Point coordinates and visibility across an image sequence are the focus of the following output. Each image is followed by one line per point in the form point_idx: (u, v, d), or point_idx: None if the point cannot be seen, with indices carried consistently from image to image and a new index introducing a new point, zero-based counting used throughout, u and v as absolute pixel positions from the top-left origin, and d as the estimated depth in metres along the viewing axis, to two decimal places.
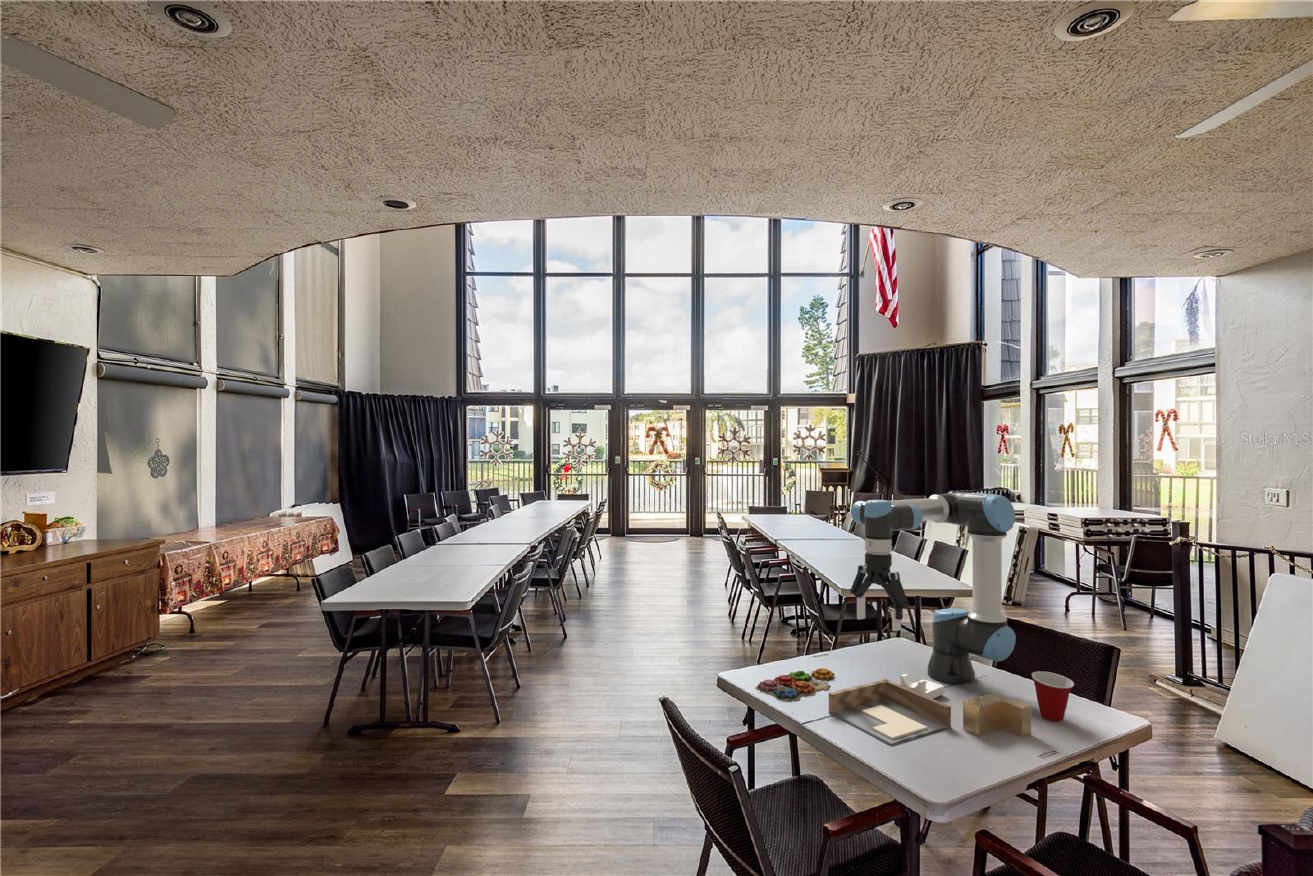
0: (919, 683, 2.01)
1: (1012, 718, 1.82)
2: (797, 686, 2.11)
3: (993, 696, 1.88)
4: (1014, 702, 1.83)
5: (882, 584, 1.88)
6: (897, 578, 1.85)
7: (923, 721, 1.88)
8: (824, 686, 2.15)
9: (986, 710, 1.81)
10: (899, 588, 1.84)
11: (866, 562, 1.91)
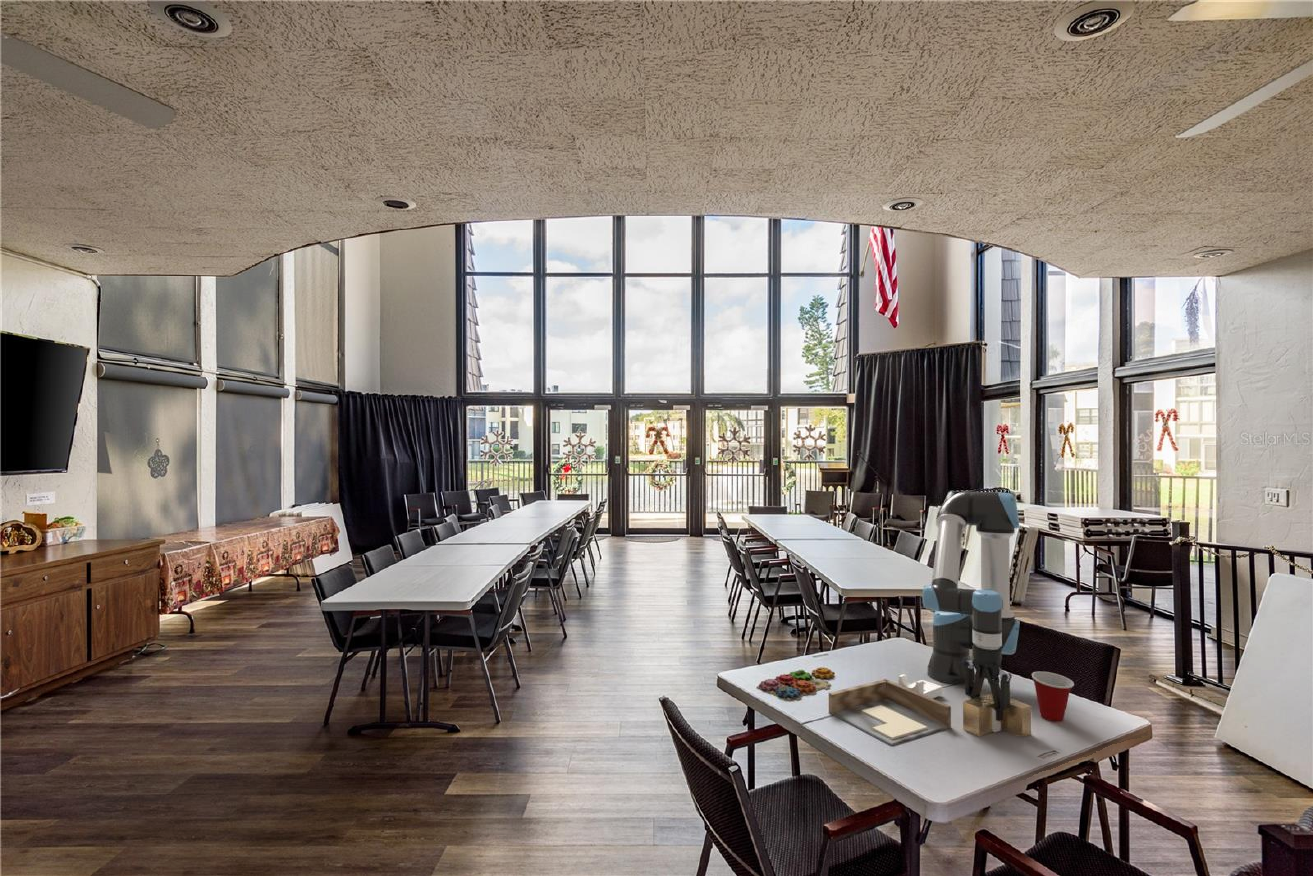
0: (917, 683, 2.01)
1: (1012, 718, 1.82)
2: (798, 685, 2.12)
3: None
4: (1014, 702, 1.83)
5: (989, 681, 1.83)
6: (1008, 680, 1.80)
7: (923, 721, 1.88)
8: (825, 685, 2.16)
9: (986, 710, 1.81)
10: (1006, 690, 1.80)
11: (975, 656, 1.85)
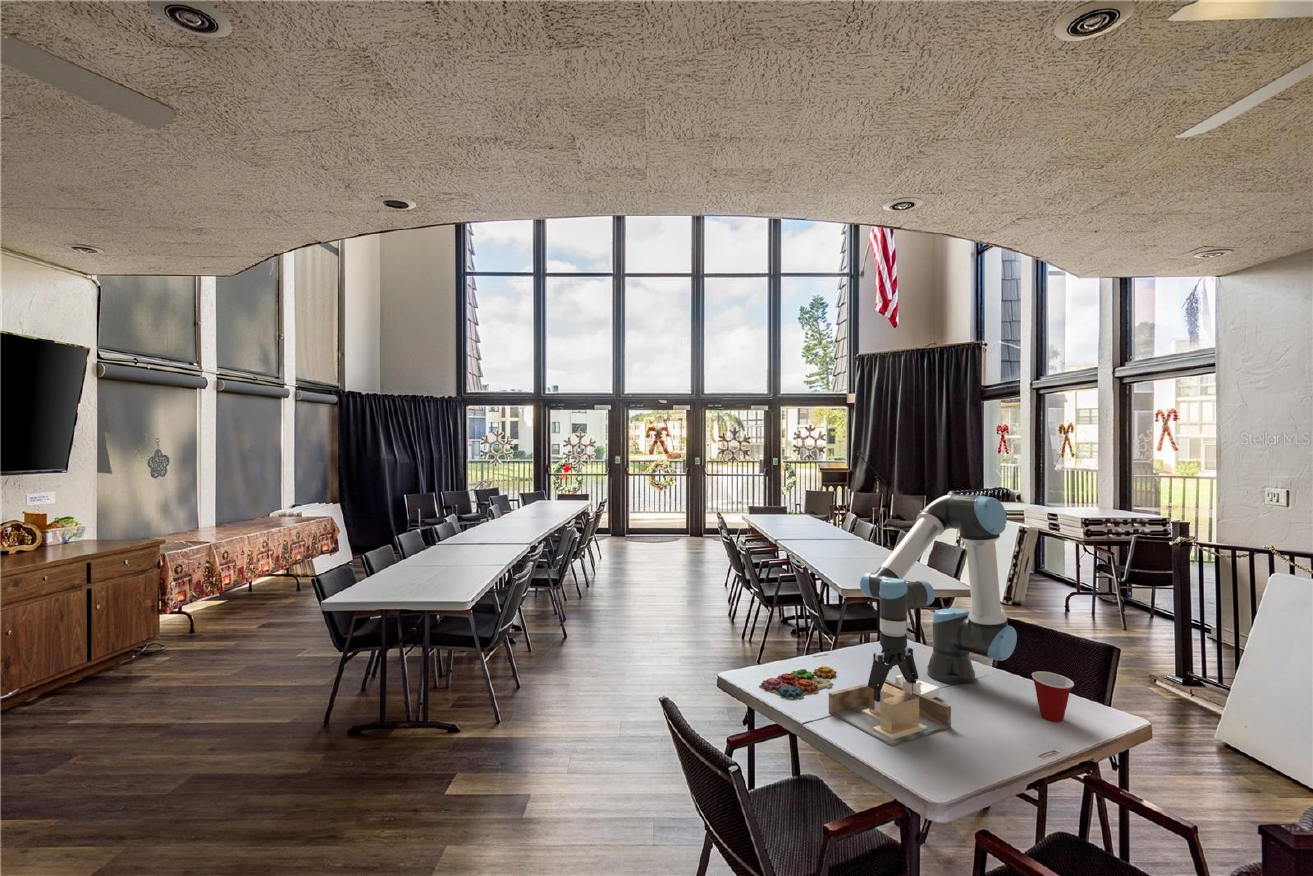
0: (914, 684, 2.00)
1: None
2: (800, 684, 2.13)
3: (907, 695, 1.86)
4: (894, 700, 1.82)
5: None
6: (877, 660, 1.85)
7: (923, 721, 1.88)
8: (827, 684, 2.17)
9: None
10: (874, 669, 1.85)
11: None
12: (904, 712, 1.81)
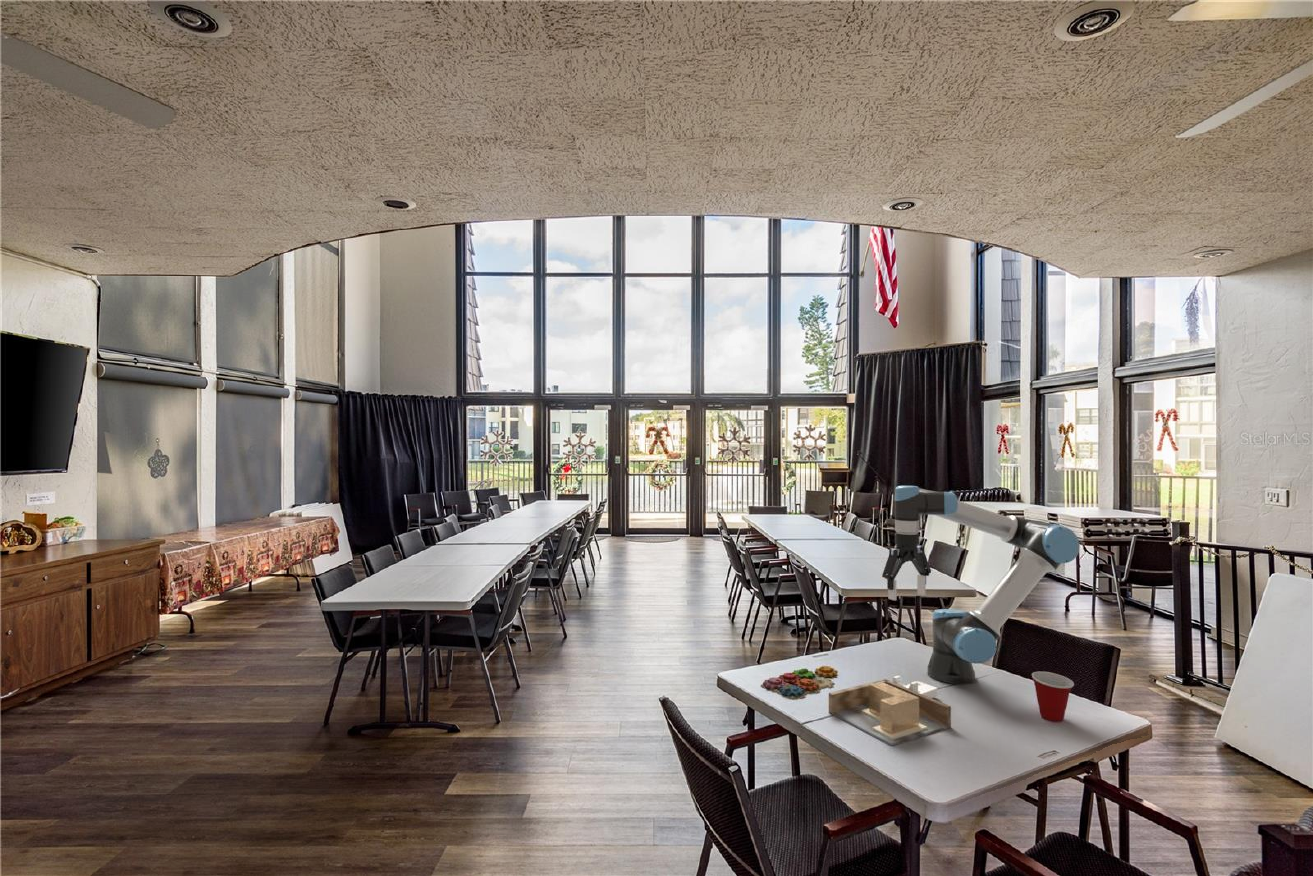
0: (911, 685, 2.00)
1: None
2: (802, 684, 2.13)
3: (907, 695, 1.86)
4: (894, 700, 1.82)
5: None
6: (892, 554, 2.09)
7: (923, 721, 1.88)
8: (828, 683, 2.17)
9: (876, 692, 1.91)
10: (889, 562, 2.09)
11: None
12: (904, 712, 1.81)
